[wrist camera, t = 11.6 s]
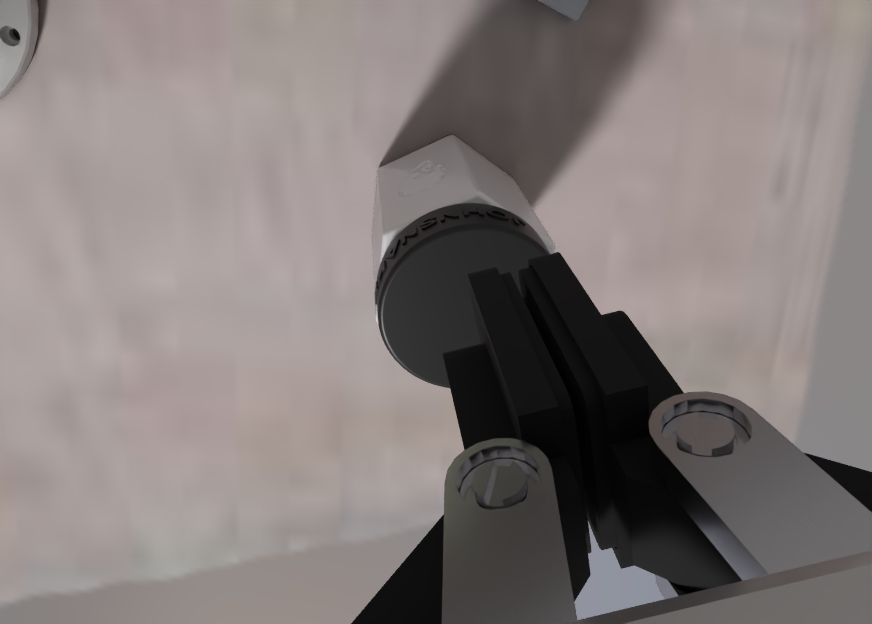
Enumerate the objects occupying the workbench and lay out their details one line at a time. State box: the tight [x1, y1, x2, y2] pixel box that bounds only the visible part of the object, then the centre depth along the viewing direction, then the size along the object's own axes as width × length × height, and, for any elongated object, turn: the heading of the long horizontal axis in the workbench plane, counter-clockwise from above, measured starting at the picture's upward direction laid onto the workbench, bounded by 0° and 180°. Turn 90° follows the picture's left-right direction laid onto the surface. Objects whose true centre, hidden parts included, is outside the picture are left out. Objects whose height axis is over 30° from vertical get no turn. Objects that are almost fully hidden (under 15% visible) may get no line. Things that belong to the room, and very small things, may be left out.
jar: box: [372, 135, 555, 388], centre depth 33 cm, size 9×8×12 cm
